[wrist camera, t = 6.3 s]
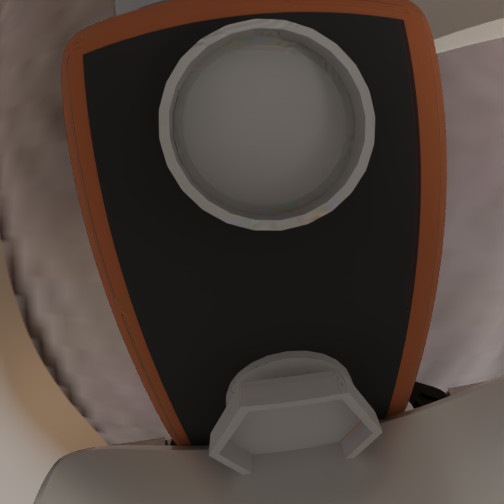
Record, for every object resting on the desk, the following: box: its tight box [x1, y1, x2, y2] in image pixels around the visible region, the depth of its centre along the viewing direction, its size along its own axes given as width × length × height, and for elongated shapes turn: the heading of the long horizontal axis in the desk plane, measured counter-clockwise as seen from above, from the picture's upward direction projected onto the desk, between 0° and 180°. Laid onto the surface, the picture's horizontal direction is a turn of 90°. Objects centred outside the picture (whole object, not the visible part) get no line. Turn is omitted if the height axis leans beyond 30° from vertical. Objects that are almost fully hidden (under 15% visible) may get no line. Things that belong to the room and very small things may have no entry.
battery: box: [61, 0, 447, 475], centre depth 7 cm, size 4×7×10 cm, turn 7°
